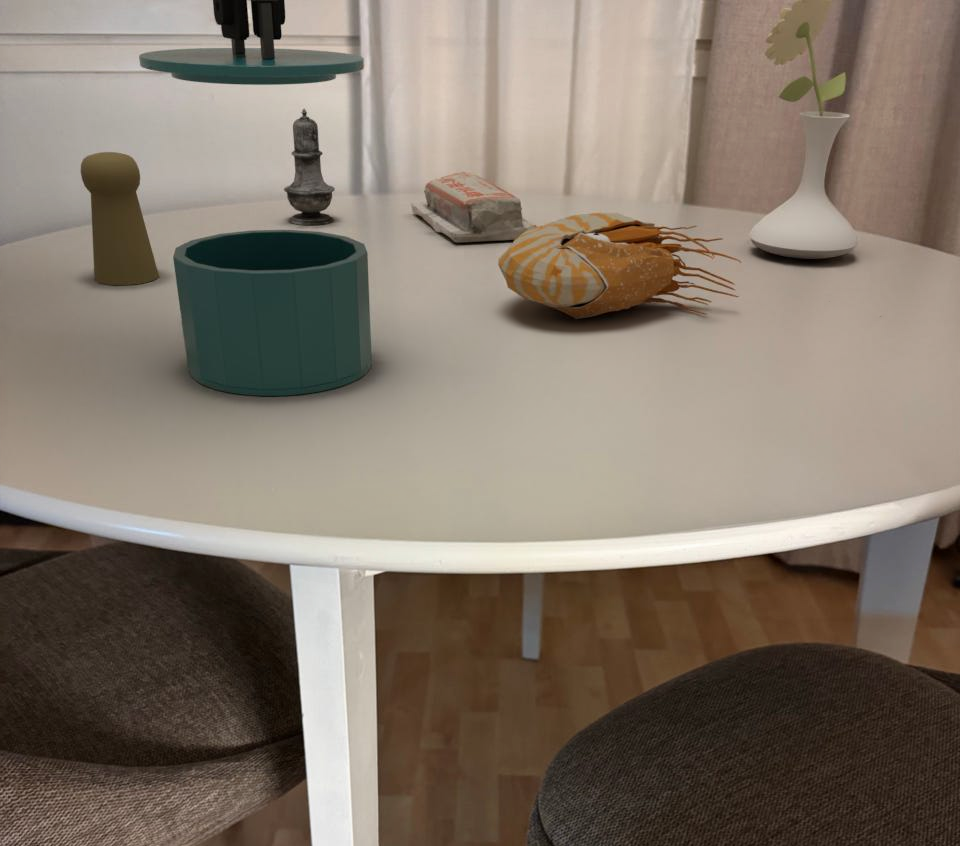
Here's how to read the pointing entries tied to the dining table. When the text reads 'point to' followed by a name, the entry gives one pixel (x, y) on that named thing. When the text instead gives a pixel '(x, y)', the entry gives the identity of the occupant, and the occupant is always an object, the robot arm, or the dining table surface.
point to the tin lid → (252, 61)
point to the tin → (274, 311)
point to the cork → (117, 220)
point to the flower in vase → (807, 149)
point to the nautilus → (599, 264)
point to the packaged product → (471, 209)
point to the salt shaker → (308, 176)
